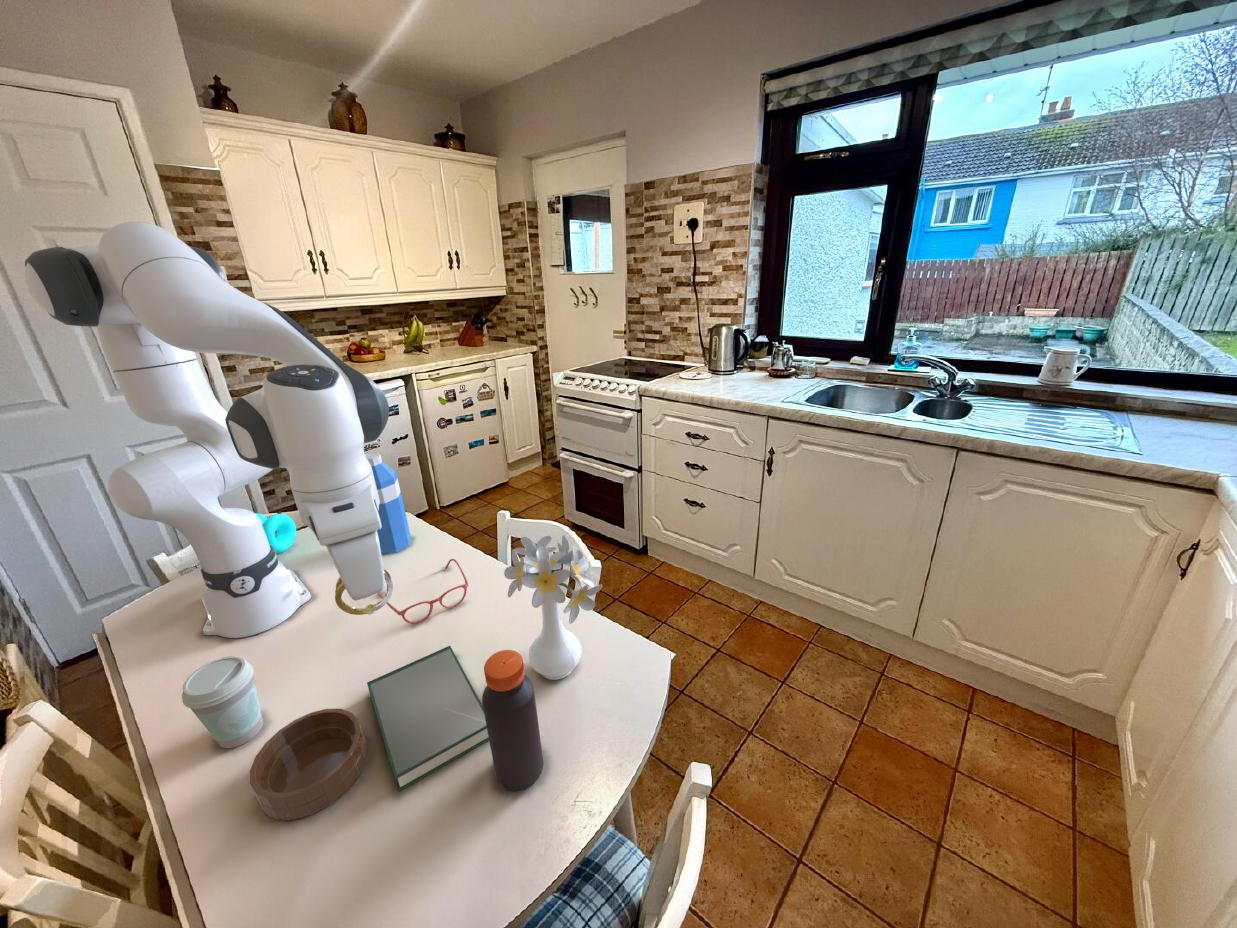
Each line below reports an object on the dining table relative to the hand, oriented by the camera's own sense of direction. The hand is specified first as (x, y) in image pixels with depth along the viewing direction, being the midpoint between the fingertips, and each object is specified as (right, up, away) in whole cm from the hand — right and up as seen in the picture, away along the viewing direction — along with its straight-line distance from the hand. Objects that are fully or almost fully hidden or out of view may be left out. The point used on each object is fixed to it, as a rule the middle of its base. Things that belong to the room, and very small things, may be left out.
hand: (364, 588), depth 66 cm
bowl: (-9, -28, +4) cm, 29 cm away
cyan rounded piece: (-56, -5, +60) cm, 82 cm away
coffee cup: (-25, -26, +11) cm, 37 cm away
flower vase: (+24, -20, +21) cm, 38 cm away
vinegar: (+20, -27, +4) cm, 34 cm away
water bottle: (-25, -4, +61) cm, 66 cm away
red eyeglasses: (-8, -12, +40) cm, 43 cm away
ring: (0, -4, +2) cm, 4 cm away
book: (+4, -24, +13) cm, 27 cm away
